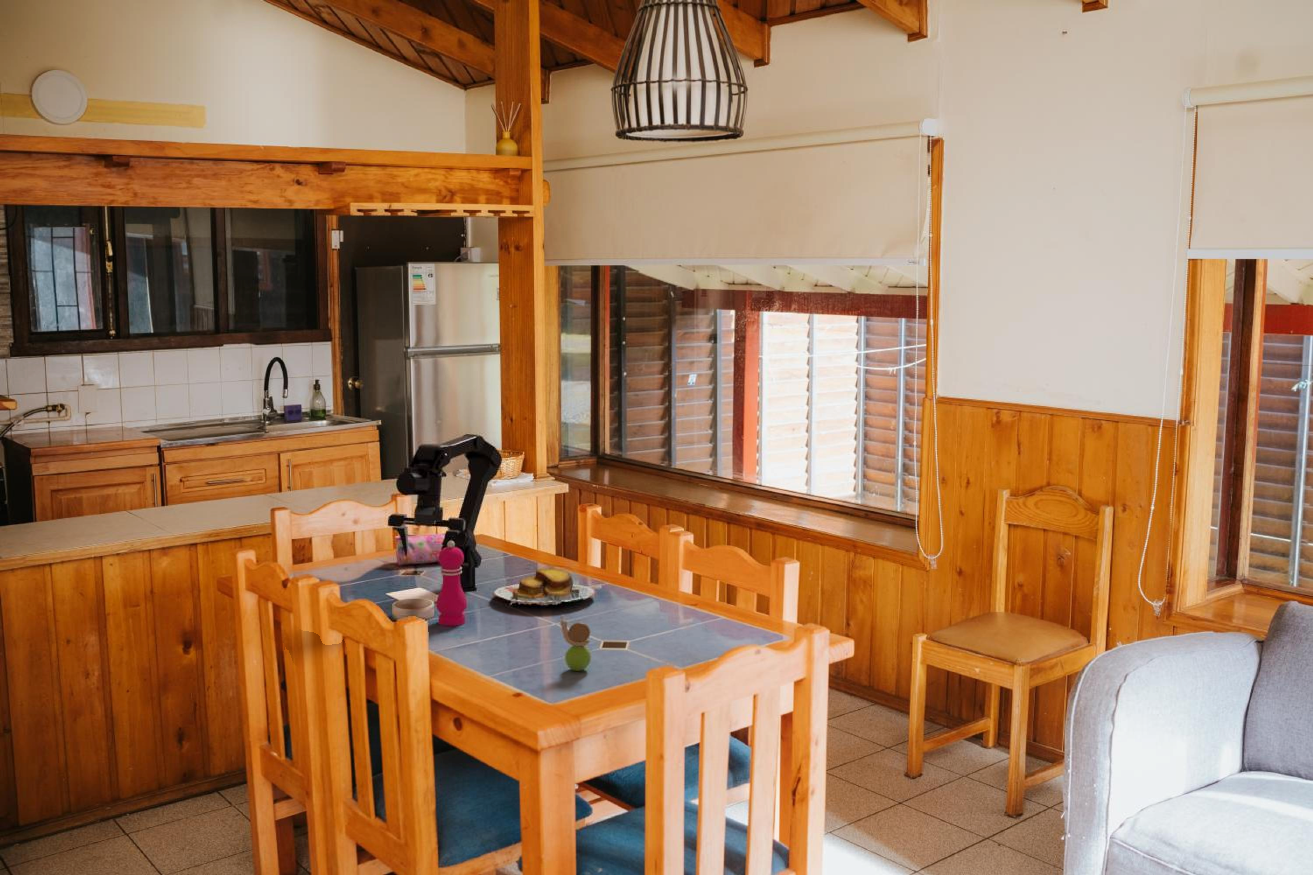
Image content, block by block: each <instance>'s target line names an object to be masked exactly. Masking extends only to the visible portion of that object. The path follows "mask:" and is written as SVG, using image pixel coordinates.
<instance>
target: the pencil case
mask: <svg viewBox="0 0 1313 875" xmlns="http://www.w3.org/2000/svg"><path fill="white" fill-rule="evenodd" d="M445 533H446V532H445ZM445 533H434V534H421V535H420V534H419V535H418V534H408V553H407V556H405V553H404V549H403V545H402V541H401V538H400V536H399V535H396V536H394V538H395V539H396V550H395V556H396V562H397V564H398V565H399V566H404V565H409V566H410V565H423V564H431V563H432V564H433V563H439V560H438V557H439V553H440V552H441V548H442V542H443V540H444V537H445Z"/></svg>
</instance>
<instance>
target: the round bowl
mask: <svg viewBox="0 0 1313 875" xmlns="http://www.w3.org/2000/svg"><path fill="white" fill-rule="evenodd" d="M391 607H392V608H391V609H392V610H391V613H392V616H391V617H392V620H393V619H394V620H395V621H397V619H399V618H405V617H408V616H416V617H418V618H422V619H425V621H428V620H431V619H433V618H434V617H435V602H433V601H431V600H428V599H404V600H400V601H399V600H396V601H395V602H393V603H392V605H391Z"/></svg>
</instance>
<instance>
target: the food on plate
mask: <svg viewBox="0 0 1313 875" xmlns="http://www.w3.org/2000/svg"><path fill="white" fill-rule="evenodd" d="M492 596H493V599H496V597H498V598H502V599H503V600H506V601H509V602H510V604H509V606H511V605H512V604H517V603H518V605H522V604H523V605H525V606H526V605H533V604H534V605H535V604H536V605H539V606H549V605H558V604H559V605H560V604H561V603H562V602H564V603H568V602H569V603H570V602H571V603H572V602H576V601H577V602H578V601H580V600H586V599H589V598H593V596H594V597H596V590H595V589H594V588H592V587H589V586H585V585H579V584H574V580H573V577H572V575H571V573H570V572H568V571H566V570H563V569H559V568H538V569H536V571H535V575H534V576H530V577H525V578H522V579H521V580H520V581H519V583H516V584H511V585H508V586H501V587H498V588H496V589H495V590H494V591H493V592H492Z"/></svg>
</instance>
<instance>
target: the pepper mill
mask: <svg viewBox="0 0 1313 875" xmlns="http://www.w3.org/2000/svg"><path fill="white" fill-rule="evenodd" d="M447 546H448V547H446V548H444V549H443V550H441V552H440V553H439V557H438V560H439V562H438V563H439V564H440V565H441V567H440V574H441V575H442V584H441V589H440V592H439V594H438V595H439V596H438V599H437V602H436V606H435V607H436V609H437V611H438V613H439V615H438V624H439V625H441V626H445V627H456V626H461V625H463V624H465V622H466V614H465V613H464V612H465V610H466V609H467V607H468V601H467V597H466V594H465V592H464V591H463V590H462V588H461V584H460V574H461V573H462V571H461V569H462V567H461V564H462V563H463V561H464V555H463V552H462V551H461V550H460V549H459V548H457V547H454V546H455V543H454V542H453V541H449V542H448V543H447Z"/></svg>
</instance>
